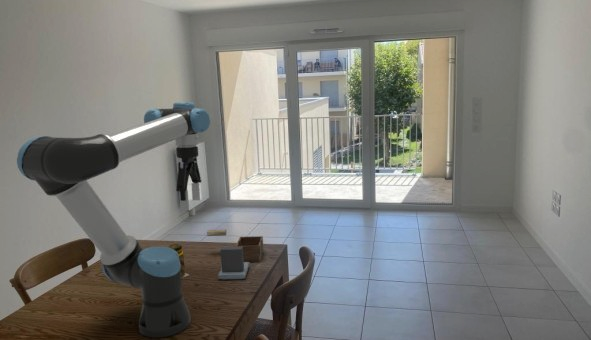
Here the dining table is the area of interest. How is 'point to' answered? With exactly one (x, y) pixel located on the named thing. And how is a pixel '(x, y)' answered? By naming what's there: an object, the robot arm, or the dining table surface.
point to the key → (216, 233)
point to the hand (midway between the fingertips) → (190, 204)
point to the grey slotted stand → (233, 263)
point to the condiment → (180, 258)
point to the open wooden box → (251, 248)
